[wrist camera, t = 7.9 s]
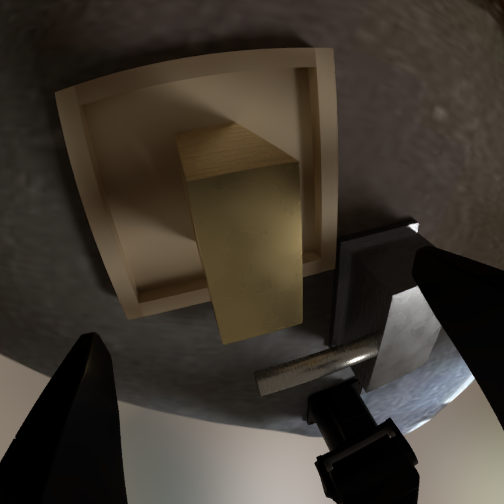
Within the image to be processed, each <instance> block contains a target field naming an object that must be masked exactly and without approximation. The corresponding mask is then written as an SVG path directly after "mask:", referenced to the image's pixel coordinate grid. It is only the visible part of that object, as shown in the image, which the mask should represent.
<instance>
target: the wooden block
mask: <svg viewBox="0 0 504 504" xmlns="http://www.w3.org/2000/svg"><path fill="white" fill-rule="evenodd" d="M174 135H175V141H176V147H177V152H178V157H179V163H180V168H181V173H182V179H183V184H184V189H185V194H186V199H187V204H188V209H189V213H190V218H191V223H192V228H193V232H194V237H195V242H196V246H197V250H198V254H199V258H200V262H201V266H202V270H203V274H204V277H205V281H206V285H207V289H208V293H209V297H210V300H211V304H212V308H213V311H214V315H215V319H216V322H217V326H218V329H219V333H220V337H221V340H222V344H223V345H225V344H229V343H233V342H237V341H241V340H245V339H248V338H252V337H256V336H259V335H263V334H267V333H270V332H274V331H277V330H281V329H284V328H288V327H291V326H294V325H298V324H301V323H303V273H302V223H301V194H300V171H299V161H298V160H296V159H295V158H293V157H292V156H290V155H289V154H287V153H286V152H284V151H282V150H281V149H279V148H278V147H276V146H274V145H273V144H271V143H270V142H268V141H266V140H265V139H263V138H261V137H260V136H258V135H256V134H255V133H253V132H251V131H250V130H248V129H246V128H245V127H243V126H241V125H239V124H238V123H236V122H234V123H228V124H222V125H216V126H210V127H205V128H199V129H194V130H189V131H184V132H179V133H174Z"/></svg>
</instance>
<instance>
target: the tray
mask: <svg viewBox="0 0 504 504" xmlns="http://www.w3.org/2000/svg"><path fill="white" fill-rule="evenodd" d="M55 97H56V102H57V107H58V112H59V117H60V122H61V126H62V131H63V135H64V139H65V143H66V147H67V151H68V155H69V159H70V163H71V166H72V170H73V173H74V177H75V180H76V184H77V187H78V190H79V194H80V197H81V200H82V203H83V206H84V209H85V212H86V215H87V218H88V221H89V224H90V227H91V230H92V233H93V236H94V238H95V241H96V244H97V247H98V249H99V252H100V255H101V257H102V260H103V262H104V265H105V267H106V270H107V272H108V275H109V277H110V280H111V282H112V285H113V287H114V289H115V292H116V294H117V296H118V299H119V301H120V303H121V305H122V308H123V310H124V312H125V314H126V316H127V319H128V320H130V319H135V318H139V317H144V316H148V315H153V314H157V313H162V312H166V311H170V310H175V309H179V308H183V307H188V306H192V305H196V304H200V303H204V302H209V301H211V300H210V297H209V293H208V289H207V285H206V281H205V277H204V274H203V270H202V266H201V262H200V258H199V254H198V250H197V246H196V242H195V237H194V232H193V228H192V223H191V218H190V213H189V209H188V204H187V199H186V194H185V189H184V184H183V179H182V173H181V168H180V163H179V157H178V152H177V147H176V141H175V135H174V133H179V132H184V131H189V130H194V129H199V128H205V127H210V126H216V125H222V124H228V123H234V122H236V123H238V124H239V125H241V126H243V127H245V128H246V129H248V130H250V131H251V132H253V133H255V134H256V135H258V136H260V137H261V138H263V139H265V140H266V141H268V142H270V143H271V144H273V145H274V146H276V147H278V148H279V149H281V150H282V151H284V152H286V153H287V154H289V155H290V156H292V157H293V158H295V159H296V160H298V161H299V171H300V194H301V223H302V273H303V277H306V276H310V275H314V274H317V273H321V272H325V271H328V270H332V269H335V262H336V242H337V213H338V129H337V101H336V81H335V66H334V53H333V48H273V49H256V50H243V51H232V52H223V53H215V54H207V55H200V56H193V57H187V58H181V59H175V60H170V61H165V62H160V63H155V64H150V65H146V66H141V67H137V68H133V69H129V70H125V71H121V72H117V73H114V74H110V75H106V76H103V77H100V78H96V79H93V80H90V81H87V82H83V83H80V84H77V85H74V86H71V87H69V88H66V89H63V90H60V91H57V92H55Z"/></svg>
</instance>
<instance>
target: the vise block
mask: <svg viewBox="0 0 504 504" xmlns="http://www.w3.org/2000/svg"><path fill="white" fill-rule="evenodd" d="M418 225H419V222H417V221H416V220H414V219H413V220H409V221H405V222H401V223H396V224H392V225H388V226H384V227H380V228H376V229H372V230H368V231H364V232H360V233H356V234H352V235H347V236H343V237H339V238H337V242H336V262H335V275H334V290H333V303H332V315H331V326H330V337H329V346H328V347H329V349H326V350H323V351H320V352H317V353H314V354H311V355H308V356H305V357H302V358H299V359H296V360H293V361H289V362H286V363H283V364H279V365H276V366H273V367H269V368H266V369H262V370H259V371H255V372H254V377H255V381H256V384H257V387H258V390H259V393H260V395H261V396H264V395H267V394H271V393H274V392H277V391H281V390H284V389H287V388H290V387H293V386H296V385H300V384H303V383H306V382H309V381H311V380H314V379H317V378H320V377H323V376H326V375H328V374H331V373H334V372H337V371H339V370H342V369H345V368H347V367H351V369H352V371H353V372H354V374H355V375H356V377H357V379H358V380H359V382H360V384H361V385H362V387H363V388H364V390H365V392H366V393H367V392H369V391H372V390H374V389H376V388H378V387H380V386H383V385H385V384H387V383H389V382H391V381H393V380H395V379H397V378H400V377H402V376H404V375H406V374H408V373H410V372H412V371H414V370H416V369H417V368H419V367H421V366H423V365H425V364H426V362H427V359H428V357H429V355H430V353H431V350H432V348H433V346H434V343H435V341H436V339H437V336H438V334H439V331H440V329H441V324H440V323H439V322H438V320H437V318H436V317H435V315H434V314H433V312H432V310H431V308H430V307H429V305H428V303H427V301H426V300H425V298H424V296H423V294H422V293H421V291H420V289H419V288H418V286H417V284H416V283H415V281H414V279H413V277H412V267H413V263H414V258H415V253H416V251H417V249H418V248H421V247H424V246H432V247H435V246H434V245H433V244H431V243H430V242H429V241H427V240H426V239H425V238H424V237H422V236H421V235H420V234H418V233H417V231H418Z"/></svg>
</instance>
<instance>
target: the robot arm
mask: <svg viewBox="0 0 504 504" xmlns="http://www.w3.org/2000/svg"><path fill="white" fill-rule="evenodd" d="M412 277H413V279H414V281H415V283H416V284H417V286H418V288H419V289H420V291H421V293H422V294H423V296H424V298H425V300H426V301H427V303H428V305H429V307H430V308H431V310H432V312H433V314H434V315H435V317H436V318H437V320H438V322H439V323H440V324H441V326H442V327H443V329H444V330H445V332H446V333H447V335H448V336H449V338H450V339H451V341H452V342H453V344H454V346H455V347H456V349H457V350H458V352H459V353H460V355H461V356H462V358H463V360H464V361H465V363H466V364H467V366H468V368H469V369H470V371H471V373H472V374H473V376H474V378H475V379H476V381H477V383H478V384H479V386H480V387H481V389H482V391H483V393H484V394H485V396H486V398H487V400H488V402H489V403H490V405H491V407H492V409H493V411H494V412H495V414H496V416H497V417H498V420H499V422H500V424H501V426H502V428H503V430H504V271H503V270H500V269H498V268H495V267H492V266H489V265H486V264H483V263H481V262H478V261H475V260H472V259H469V258H466V257H463V256H460V255H457V254H454V253H451V252H448V251H445V250H442V249H439V248H436V247H432V246H424V247H421V248H418V249H417V251H416V253H415V258H414V263H413V267H412ZM361 390H362V385H361V384H360V382H359V380H358V379H355V380H352V381H350V382H347V383H344V384H342V385H339V386H337V387H334V388H331V389H329V390H326V391H323V392H320V393H318V394H315V395H312V396H310V397H309V399H308V410H307V423H308V425H311V424H314V423H317V425H318V428H319V430H320V432H321V434H322V436H323V438H324V440H325V442H326V444H327V446H328V448H329V450H330V452H328V453H326V454H324V455H322V456H321V455H320V456H318V457H316V458H317V461H316V462H315V466H316V468H317V470H318V472H319V475H320V478H321V482H322V485H323V489H324V493H325V495H326V497H328V498H331V499H333V501H335V502H336V503H337V504H417V500H418V491H419V479H420V478H419V477H420V476H419V474H418V472H417V470H416V468H415V467H414V466H415V465H416V464H418V460H417V458H416V455H415V453H414V452H413V450H412V448H411V446H410V445H409V443H408V442H407V440H406V439H405V437H404V436H403V435H402V433H401V432H400V430H399V429H398V428H397V426H396V425H395V423H394V422H393V421H392V419H391V418H388V419H387V420H386V421H385V422H383V423H381V424H380V425H377V423H376V421H375V420H374V418H373V416H372V415H371V413H370V411H369V410H368V408H367V406H366V405H365V403H364V401H363V400H362V398H361V396H360V394H361ZM389 436H390V437H391V438H390V437H389ZM15 438H16V439H13V441H12V443H11V444H10V446H9V448H8V450H7V451H6V453H5V455H4V456H3V458H2V460H1V462H0V504H128V503H127V495H126V487H125V480H124V470H123V460H122V449H121V436H120V420H119V410H118V402H117V396H116V389H115V381H114V373H113V365H112V359H111V355H110V353H109V351H108V350H107V348H106V346H105V344H104V343H103V341H102V339H101V337H100V336H99V334H98V333H96V332H91V333H86V334H82V335H81V336H80V337H79V339H78V340H77V342H76V343H75V344H74V346H73V347H72V349H71V350H70V352H69V353H68V354H67V356H66V357H65V359H64V360H63V362H62V363H61V365H60V366H59V368H58V369H57V371H56V372H55V373H54V375H53V376H52V378H51V380H50V381H49V383H48V384H47V386H46V387H45V389H44V390H43V392H42V393H41V395H40V396H39V398H38V400H37V401H36V403H35V404H34V406H33V408H32V409H31V411H30V412H29V414H28V416H27V417H26V419H25V421H24V422H23V424H22V426H21V427H20V429H19V431H18V432H17V434H16V436H15ZM332 467H333V468H332Z"/></svg>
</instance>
